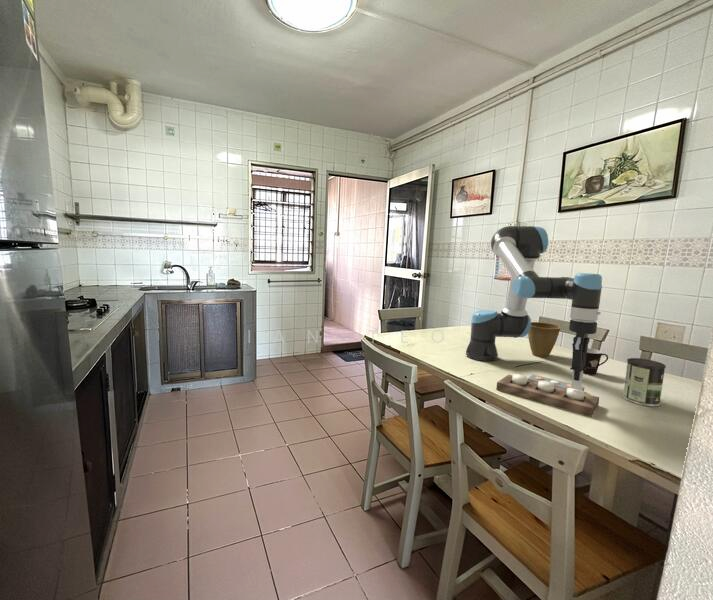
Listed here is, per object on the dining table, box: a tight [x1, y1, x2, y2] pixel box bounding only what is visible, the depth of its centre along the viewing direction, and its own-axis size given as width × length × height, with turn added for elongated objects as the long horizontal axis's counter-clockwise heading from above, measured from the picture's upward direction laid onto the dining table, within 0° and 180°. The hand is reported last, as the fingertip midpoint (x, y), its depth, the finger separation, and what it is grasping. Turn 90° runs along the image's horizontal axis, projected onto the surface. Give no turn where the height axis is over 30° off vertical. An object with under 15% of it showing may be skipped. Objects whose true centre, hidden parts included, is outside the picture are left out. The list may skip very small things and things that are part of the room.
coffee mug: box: [582, 347, 609, 376], centre depth 146 cm, size 12×9×10 cm
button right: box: [566, 388, 585, 401], centre depth 114 cm, size 5×5×2 cm
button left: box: [511, 373, 528, 385], centre depth 126 cm, size 5×5×2 cm
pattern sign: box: [527, 374, 585, 392], centre depth 130 cm, size 18×7×2 cm, turn 46°
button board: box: [496, 374, 600, 418], centre depth 120 cm, size 30×12×3 cm, turn 46°
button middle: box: [538, 381, 554, 393], centre depth 120 cm, size 5×5×2 cm
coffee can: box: [622, 357, 666, 407], centre depth 119 cm, size 10×10×14 cm
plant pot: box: [527, 321, 561, 358], centre depth 172 cm, size 15×15×16 cm
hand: (576, 388), depth 113 cm, fingers closed
